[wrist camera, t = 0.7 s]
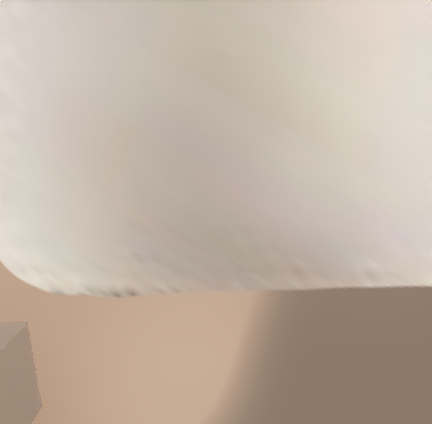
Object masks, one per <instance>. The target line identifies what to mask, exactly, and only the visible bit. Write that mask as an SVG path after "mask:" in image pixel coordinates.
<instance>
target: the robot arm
mask: <svg viewBox="0 0 432 424" xmlns="http://www.w3.org/2000/svg"><path fill="white" fill-rule="evenodd" d="M41 407H42V404H41V398H40V392H39V386H38V381H37V375H36V369H35V363H34V358H33V352H32V346H31V341H30V335H29V329H28V323H27V322H26V323H25V322H15V323H0V424H31V423H32V422H33V420H34V418H35V417H36V415H37V413H38V412H39V410H40V409H41Z"/></svg>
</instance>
